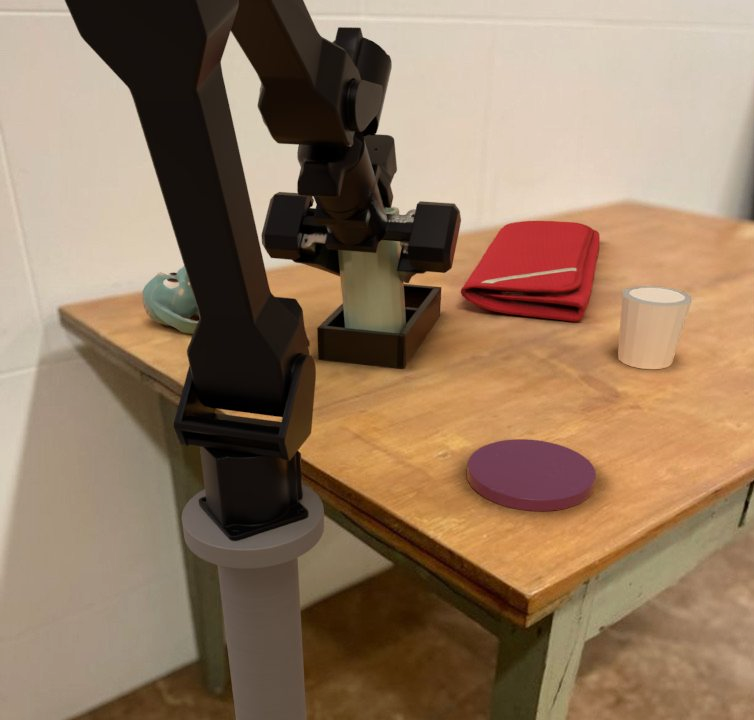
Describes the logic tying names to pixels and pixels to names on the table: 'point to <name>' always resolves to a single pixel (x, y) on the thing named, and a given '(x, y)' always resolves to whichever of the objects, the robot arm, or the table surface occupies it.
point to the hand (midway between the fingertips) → (376, 276)
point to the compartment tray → (381, 333)
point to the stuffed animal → (171, 301)
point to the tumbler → (373, 287)
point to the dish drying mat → (537, 270)
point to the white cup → (651, 325)
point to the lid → (531, 475)
